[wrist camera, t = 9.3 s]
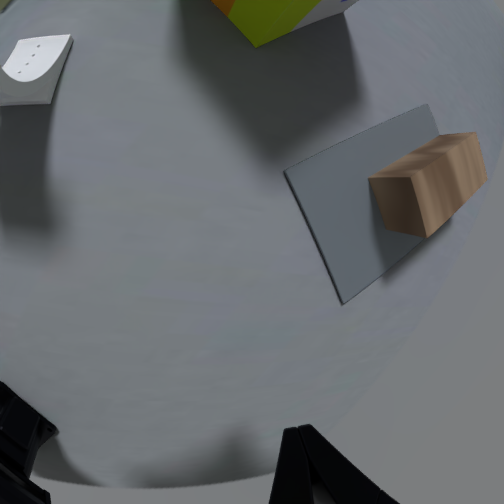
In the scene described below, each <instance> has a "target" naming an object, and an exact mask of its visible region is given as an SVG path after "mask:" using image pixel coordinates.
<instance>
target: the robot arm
mask: <svg viewBox="0 0 504 504" xmlns="http://www.w3.org/2000/svg"><path fill="white" fill-rule="evenodd" d="M55 431H56V428H55V426H54V425H52V424H51V423H50V422H48V421H47V420H46V419H44V418H43V417H42V416H41V415H39V414H38V413H37V412H36V411H34V410H33V409H32V408H31V407H29V406H28V405H27V404H26V403H25V402H24V401H22V400H21V399H20V398H19V397H18V396H17V395H16V394H14V393H13V392H12V391H11V390H10V389H9V388H8V387H7V386H6V385H5V384H4V383H2V382H1V381H0V504H51V498H50V493H49V492H47V491H46V490H43V489H41V488H40V487H39V486H37V485H36V484H35V483H33V482H32V481H31V480H29V478H30V475H31V471H32V467H33V464H34V460H35V457H36V454H37V450H38V448H39V447H40V446H41V445H42V444H43V443H45V442H46V441H47V440H48V439H49V438H50V437H51V436H52V435H53V434H54V433H55ZM269 504H400V503H398V502H397V501H396V500H394V499H393V498H392V497H390V496H389V495H388V494H387V493H386V492H384V491H383V490H380V488H379V487H378V486H377V485H376V484H375V483H373V482H372V481H371V480H370V479H369V478H368V477H367V476H366V475H364V474H363V473H362V472H361V471H360V470H359V469H358V468H357V467H355V466H354V465H353V464H352V463H351V462H350V461H349V460H348V459H347V458H346V457H344V456H343V455H342V454H341V453H340V452H339V451H338V450H337V449H336V448H335V447H334V446H333V445H331V444H330V442H328V441H327V440H326V439H325V438H324V437H323V436H322V435H321V434H320V433H319V432H318V431H317V430H316V429H315V428H314V427H313V426H312V425H311V424H306V425H301V426H298V427H290V428H285V429H284V431H283V436H282V442H281V447H280V452H279V457H278V462H277V467H276V472H275V477H274V482H273V486H272V491H271V495H270V500H269Z"/></svg>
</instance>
